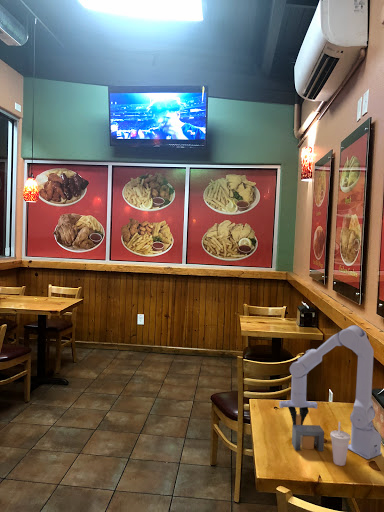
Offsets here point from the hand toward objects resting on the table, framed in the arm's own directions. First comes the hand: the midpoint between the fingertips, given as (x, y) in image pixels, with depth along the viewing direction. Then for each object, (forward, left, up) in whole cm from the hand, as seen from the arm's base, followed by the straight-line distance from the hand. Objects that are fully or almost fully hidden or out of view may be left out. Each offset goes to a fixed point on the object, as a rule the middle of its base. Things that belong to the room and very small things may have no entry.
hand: (297, 425), depth 161 cm
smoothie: (-25, +5, -2) cm, 25 cm away
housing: (-12, +7, -2) cm, 14 cm away
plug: (-6, +4, -2) cm, 7 cm away
